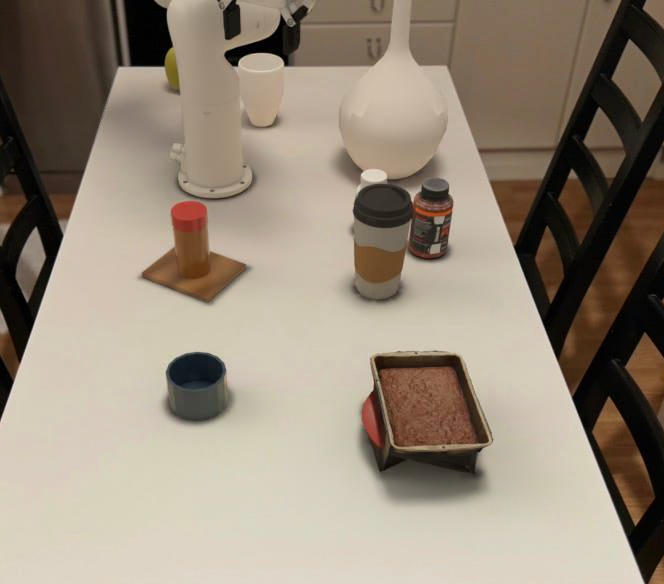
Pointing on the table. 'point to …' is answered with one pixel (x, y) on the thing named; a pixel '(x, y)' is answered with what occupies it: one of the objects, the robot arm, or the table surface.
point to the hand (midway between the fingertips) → (261, 44)
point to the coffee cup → (380, 238)
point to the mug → (261, 86)
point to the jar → (191, 239)
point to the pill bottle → (371, 179)
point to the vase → (393, 109)
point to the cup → (197, 385)
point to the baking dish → (424, 411)
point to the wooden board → (199, 287)
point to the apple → (172, 69)
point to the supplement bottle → (431, 219)
